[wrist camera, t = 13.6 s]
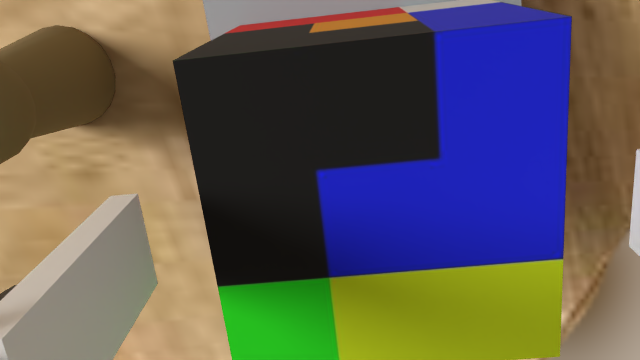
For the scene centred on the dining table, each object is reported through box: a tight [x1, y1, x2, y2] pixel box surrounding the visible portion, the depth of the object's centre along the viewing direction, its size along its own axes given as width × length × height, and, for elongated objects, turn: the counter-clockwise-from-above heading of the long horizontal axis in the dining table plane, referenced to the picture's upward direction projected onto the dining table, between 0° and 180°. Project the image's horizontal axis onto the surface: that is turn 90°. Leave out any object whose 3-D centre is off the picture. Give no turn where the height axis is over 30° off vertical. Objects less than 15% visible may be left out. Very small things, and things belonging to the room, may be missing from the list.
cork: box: [0, 26, 115, 164], centre depth 29 cm, size 6×6×11 cm
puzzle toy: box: [173, 0, 572, 360], centre depth 21 cm, size 10×10×10 cm
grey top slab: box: [203, 0, 521, 40], centre depth 28 cm, size 13×13×5 cm
